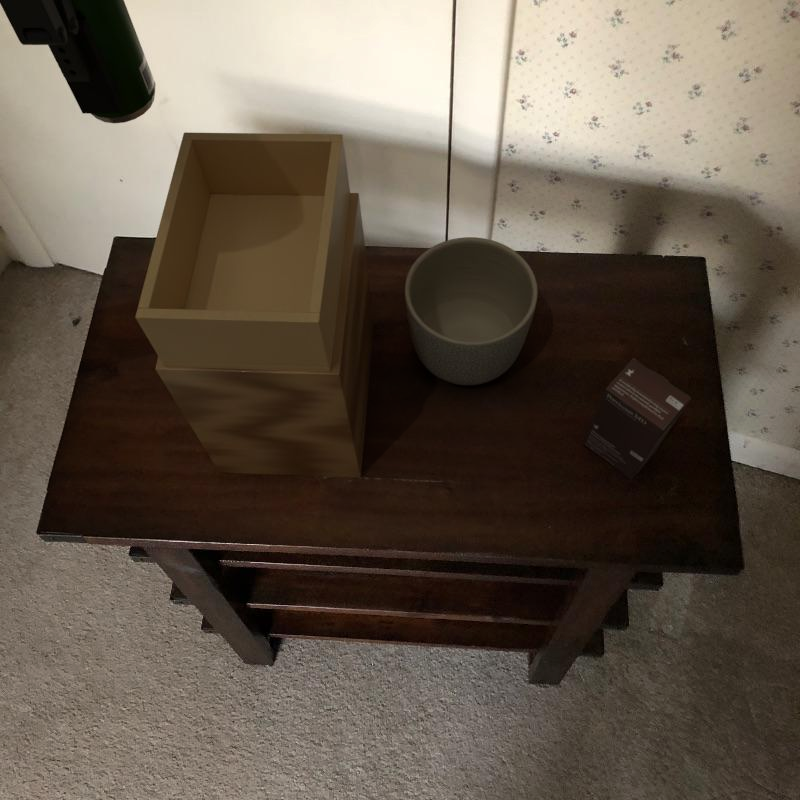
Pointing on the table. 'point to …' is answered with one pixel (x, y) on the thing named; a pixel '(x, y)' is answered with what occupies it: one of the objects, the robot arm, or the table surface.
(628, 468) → the box
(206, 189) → the open bin
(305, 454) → the stand
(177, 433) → the table surface
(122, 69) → the beer can
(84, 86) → the robot arm
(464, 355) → the planter
